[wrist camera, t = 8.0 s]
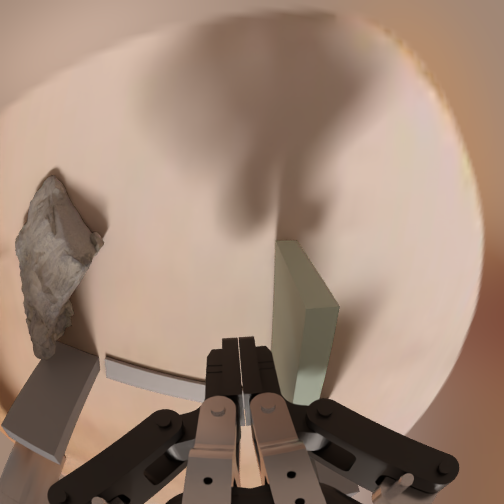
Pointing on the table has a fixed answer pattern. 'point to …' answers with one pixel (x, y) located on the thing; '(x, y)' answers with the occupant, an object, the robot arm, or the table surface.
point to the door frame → (76, 392)
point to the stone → (52, 263)
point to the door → (301, 324)
